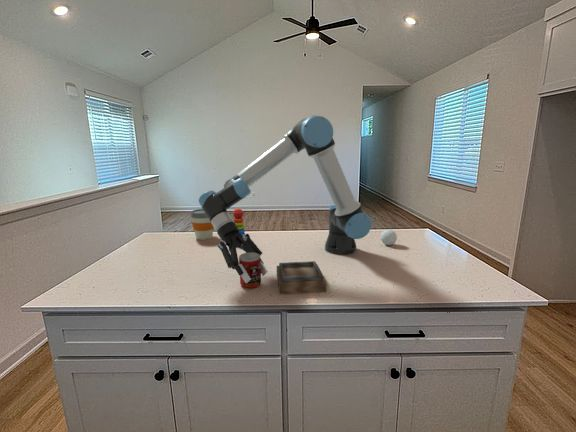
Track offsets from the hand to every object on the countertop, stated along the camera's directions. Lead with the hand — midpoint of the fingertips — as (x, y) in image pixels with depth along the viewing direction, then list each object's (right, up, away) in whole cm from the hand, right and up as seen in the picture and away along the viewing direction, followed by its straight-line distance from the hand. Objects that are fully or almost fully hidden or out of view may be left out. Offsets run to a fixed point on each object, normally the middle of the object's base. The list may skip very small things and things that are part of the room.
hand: (257, 277), depth 108 cm
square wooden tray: (+15, -3, +4) cm, 16 cm away
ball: (+62, +7, +47) cm, 78 cm away
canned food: (-3, -3, +3) cm, 5 cm away
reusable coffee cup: (-36, +10, +62) cm, 73 cm away
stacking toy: (-15, +7, +50) cm, 52 cm away
